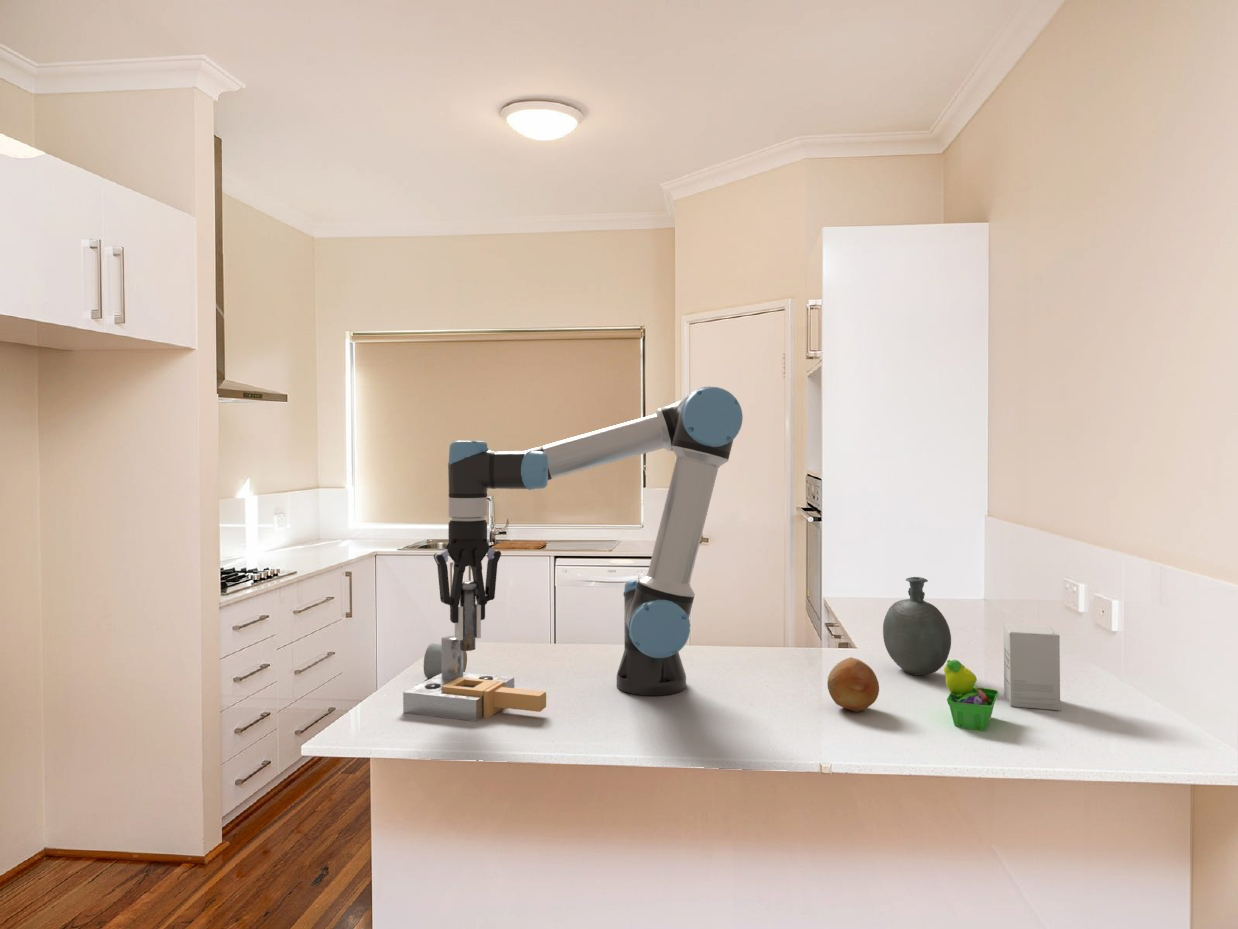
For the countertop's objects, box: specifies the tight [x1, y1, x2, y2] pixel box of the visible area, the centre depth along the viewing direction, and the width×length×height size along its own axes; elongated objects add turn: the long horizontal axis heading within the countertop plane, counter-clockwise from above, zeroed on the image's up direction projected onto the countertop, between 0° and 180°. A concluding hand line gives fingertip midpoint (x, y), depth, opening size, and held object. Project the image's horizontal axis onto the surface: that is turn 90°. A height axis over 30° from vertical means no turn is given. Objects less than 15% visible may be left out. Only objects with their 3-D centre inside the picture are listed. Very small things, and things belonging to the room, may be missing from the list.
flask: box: [882, 576, 952, 676], centre depth 177 cm, size 12×17×22 cm
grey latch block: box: [402, 635, 515, 722], centre depth 156 cm, size 16×16×12 cm
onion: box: [827, 657, 880, 713], centre depth 152 cm, size 10×10×10 cm
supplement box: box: [1003, 623, 1061, 711], centre depth 156 cm, size 9×9×15 cm
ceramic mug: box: [423, 642, 468, 679], centre depth 176 cm, size 11×8×8 cm
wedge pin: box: [459, 580, 478, 652], centre depth 153 cm, size 4×4×13 cm
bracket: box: [442, 677, 547, 718], centre depth 151 cm, size 20×7×5 cm, turn 71°
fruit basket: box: [943, 659, 999, 732], centre depth 145 cm, size 11×9×11 cm
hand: (467, 637), depth 153 cm, fingers closed on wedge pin, 3 cm apart
